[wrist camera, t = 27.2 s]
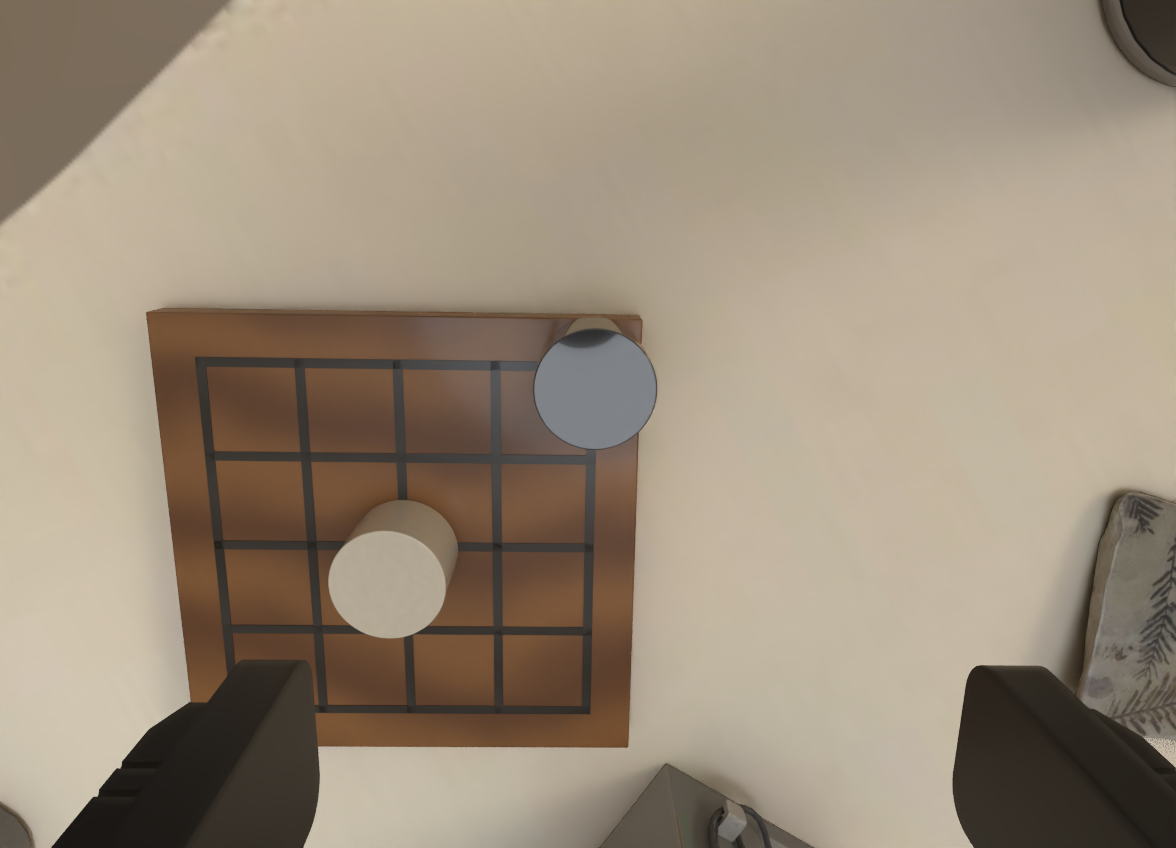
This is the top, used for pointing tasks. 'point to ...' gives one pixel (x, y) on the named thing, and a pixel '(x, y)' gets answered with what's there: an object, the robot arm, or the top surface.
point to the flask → (12, 832)
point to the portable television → (693, 819)
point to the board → (387, 473)
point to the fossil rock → (1134, 619)
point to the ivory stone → (394, 569)
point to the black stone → (594, 384)
